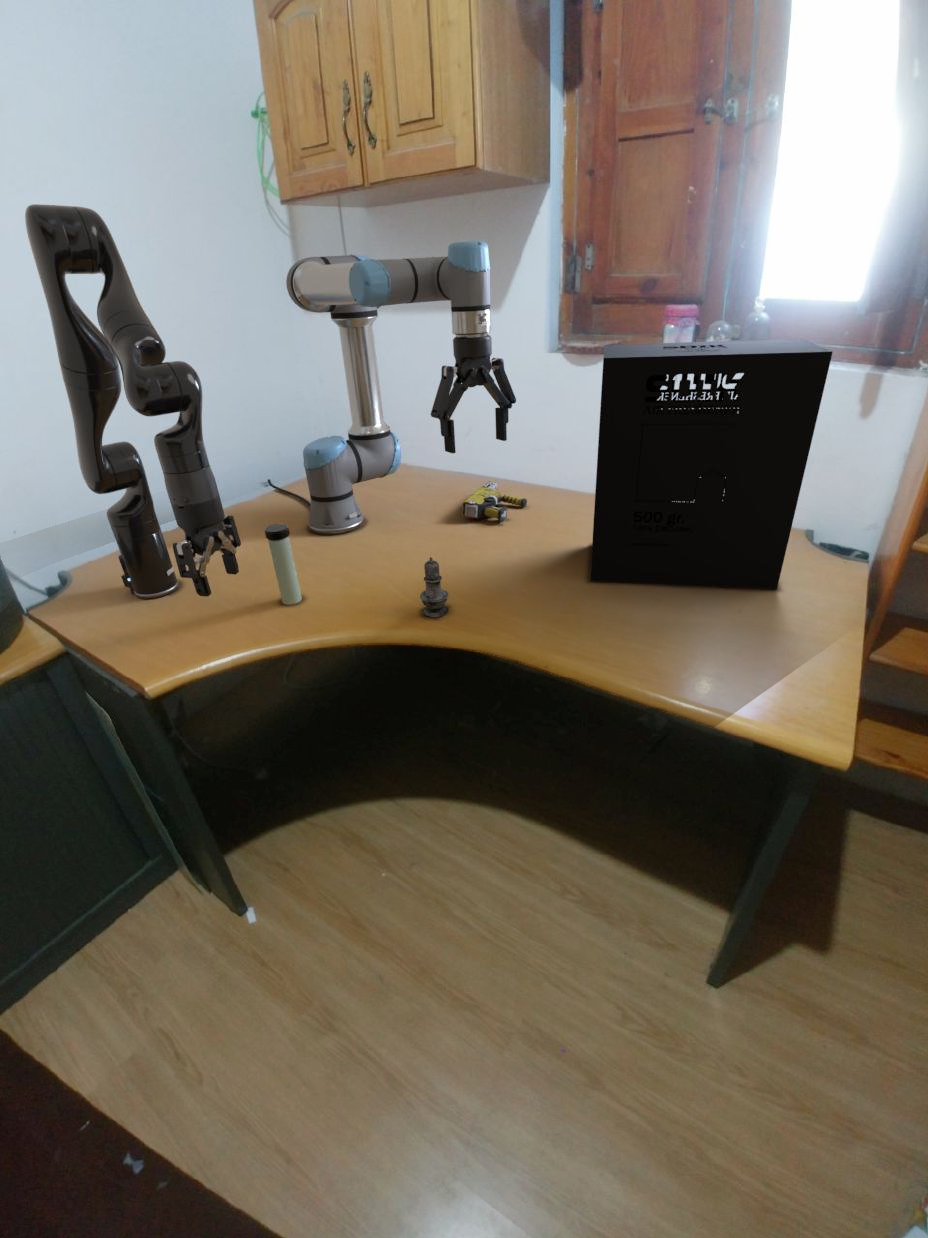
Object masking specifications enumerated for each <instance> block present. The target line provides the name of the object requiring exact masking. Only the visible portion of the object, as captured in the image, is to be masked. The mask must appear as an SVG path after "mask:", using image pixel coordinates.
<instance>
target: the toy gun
mask: <svg viewBox="0 0 928 1238" xmlns="http://www.w3.org/2000/svg"><path fill="white" fill-rule="evenodd" d="M498 486H499V483H498V482H497V481H493V482H492V481H491V480H489V481H488V482H487V483H485V484H483V485H482V486H481V487H479V488H478V489H477V490H476V491H474V493H472V495H470V496H469V497H468V498H467V499H466V500H465V501H464V502H462V506H461V508H462V509H461V514H462V516H463V517H466V518H467V519H471V520H472V519H474V518H475V519H482V518H486V517H489V518H494V519H498V521H497V522H498V523H499V522H502V521H504V520H506V519H507V516H508V506H503V507H501V505H499V504H500V503H505V504H506V503H507V504H511V505H515V506H519V507H521V508H525V507H526V506H527V503H528V499H526V497H525V498H524V497H520V496H514V495H511V494H510V495H509V494H506V493H505V494H503V495H502V496H501V493H500V492H499V491H498V489H499V487H498Z"/></svg>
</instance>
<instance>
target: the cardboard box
mask: <svg viewBox="0 0 928 1238" xmlns="http://www.w3.org/2000/svg"><path fill="white" fill-rule="evenodd" d="M833 353H834V352H833V350H830V349H827V348H826V347H825V348H824V347H822V346H821V345H818V344H815V343H813V342H810V341H808V340H805V339H802V338H783V339H782V338H781V339H779V338H777V339H776V338H775V339H749V340H747V339H746V340H723V341H722V340H720V341H719V340H718V341H689V342H687V341H685V342H683V341H682V342H657V343H654V342H653V343H627V344H625V343H624V344H623V343H621V344H604V345H603V359H602V362H603V363H602V375H601V389H600V390H601V392H600V409H599V424H598V425H599V426H598V427H599V428H598V442H597V457H596V458H597V459H596V460H597V461H596V475H595V493H594V496H595V497H594V508H593V509H594V510H593V525H592V527H593V528H592V541H591V557H590V558H591V560H590V575H589V576H590V577H589V580H590V582H603V583H622V584H623V583H625V584H626V583H628V584H645V585H647V584H648V585H669V586H670V585H671V586H693V587H712V588H714V587H715V588H734V589H735V588H737V589H755V590H757V589H758V590H759V589H760V590H778V586H779V582H780V577H781V574H782V570H783V565H784V561H785V556H786V553H787V548H788V543H789V539H790V536H791V531H792V526H793V522H794V519H795V513H796V510H797V505H798V501H799V497H800V493H801V489H802V484H803V480H804V476H805V471H806V467H807V464H808V463H807V462H808V458H809V455H810V450H811V446H812V442H813V437H814V434H815V430H816V425H817V421H818V417H819V411H820V407H821V404H822V400H823V399H822V398H823V394H824V390H825V386H826V381H827V378H828V374H829V369H830V366H831V360H832V356H833ZM738 374H742V376H741V377H740V378H735V376H736V375H738ZM678 375H681V379H680V380H679V384H678V388H675V385H676V379H675V377H676V376H678ZM689 375H693V380H692V381H691V379H688V376H689ZM702 375H704V379H702ZM719 378H720V382H719ZM724 378H725V382H724ZM723 382H724V385H730V384H731V385H734V388H725V387H724V386H723ZM691 383H692V385H695V388H691ZM705 385H710V388H704V386H705ZM662 387H666V389H662Z"/></svg>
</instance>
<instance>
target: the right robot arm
mask: <svg viewBox="0 0 928 1238" xmlns="http://www.w3.org/2000/svg"><path fill="white" fill-rule="evenodd" d="M490 263H491V262H490V252H489V245H488V244H487V242H485V241H484V240H466V241H455V242H451V243H450V244H449V245H448V247H447V256H431V257H430V256H427V257H413V258H411V257H410V258H391V259H390V258H386V259H374V258H370V257H369V256H367V255H358V254H349V255H328V256H326V255H325V256H310V257H305V258H302V259H300V260H298V261H296V262H295V263H293V265H291V267H290V268H289V269H288V272H287V275H286V281H285V282H286V283H285V284H286V285H285V286H286V290H287V293H288V296H289V297H290V299H291V300H292V303H294V304H295V305H296V306H298V307H299V308H300V309H302V310H304V311H306V312H310V313H318V314H319V313H320V314H321V313H330V320H331V321H332V322H333V323H334V324H335V325H336V326H337V327H338V332H339V333H338V334H339V339H340V347H341V355H342V361H343V369H344V375H345V382H346V383H345V384H346V389H347V396H348V404H349V410H350V418H351V425H350V426H349V428H348V430H347V436H348V439H345V437H343V436H341V435H332V436H324V437H321V438H318V439H315V440H312V441H311V442H309V443H308V444H306V445H305V446H304V448H303V450H302V457H303V459H302V460H303V467H304V471H305V476H306V481H307V486H308V492H309V498H310V501H308V500H307V499H306V498H304V497H303V496H300V495H298V494H297V493H294V492H291V491H288V490H286V489H283V488H280V487H279V486H276V485H274V483H272V481H271V479H270V478H269V479H267V483H268V484H269V486H270V487H272V488H273V489H275V490H278V491H280V492H282V493H285V494H288V495H290V496H292V497H295V498H297V499H299V500H300V501H303V502H304V503H305V504H307V505H308V506H309V513H308V521H307V522H308V523H307V524H308V528H309V529H308V530H310V531H311V532H312V533H314V534H317V535H323V536H324V535H325V536H327V535H329V536H331V535H339V534H340V535H341V534H345V533H350V532H353V531H355V530H357V529H359V528H361V527H362V526H363V525H364V523H365V519H364V514H363V512H362V510H361V508H360V505H359V504H358V501H357V500H356V498H355V495H354V489H353V485H354V484H355V485H356V484H359V483H363V482H368V481H371V480H375V479H381V478H385V477H387V476H390V475H392V474H394V473H396V472H397V470H398V469H399V467H400V465H401V462H402V446H401V443H400V441H399V437H398V436H397V435H396V434H395V432H394V431H391V426H390V425H388V423H386V422H385V420H384V419H385V418H384V410H383V402H382V393H381V385H380V377H379V368H378V367H379V366H378V358H377V349H376V341H375V331H374V324H375V322H376V320H377V319H378V317H379V314H378V309H379V308H381V307H385V306H394V305H403V304H405V305H406V304H417V303H419V304H420V303H427V302H428V303H429V302H444V301H448V302H449V301H450V311H451V313H450V314H451V315H450V316H451V334H453V335H454V337H453V339H452V350H453V358H454V359H455V363H454V366H452V365H442V366H441V373H440V374H441V375H440V376H441V377H440V381H439V384H438V388H437V390H436V395H435V398H434V401H433V404H432V407H431V411H430V416H431V418H435V419H438V421H439V426H440V435H441V437H443V441H444V442H443V443H444V452H446V453H450V454H456V433H455V420H454V419H451V418H452V416H453V414H454V413H455V410H456V409H457V406H458V404H459V402H460V401H461V399H462V397H463V396H464V393H465V392H466V391H468V389H469V388H474V387H477V386H478V387H482V386H483V387H484V389H485V390H486V391H487V392H488V394H489V396H491V398H492V399H493V401H494V402H495V403H496V405H497V406H498V407H495V408H494V410H495V411H494V413H495V414H494V415H495V439H496V440H499V441H502V442H507V441H508V438H507V435H508V433H507V424H509V410H510V409H512V407H513V404H516V403H517V398H516V394H515V393H514V390H513V388H512V385H511V383H510V380H509V378H508V375H507V373H506V370H505V363H504V362H505V361H504V359H503V358H499V357H493V358H491V356H492V354H493V346H492V344H493V343H492V340H493V339H492V336H491V335H489V333H491V332H492V315H491V314H492V312H491V311H492V309H491V264H490ZM491 370H492V374H493V376H494V378H493V376H492V375H491ZM455 377H456V378H455ZM454 378H455V380H454ZM495 381H496V383H497V384H496V383H495Z"/></svg>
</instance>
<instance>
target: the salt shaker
mask: <svg viewBox="0 0 928 1238" xmlns="http://www.w3.org/2000/svg"><path fill="white" fill-rule="evenodd" d="M423 567H424V577H423V581H424V582H425V590H424V591H422V592H421V593H420V594H419V599H420V600H421V603H422V605H423V606H424V608H422V614H423V615H424V616H426V617H429V618H438V617H442V616H444V615H446V614H448V612H449V607H448V606H447V605H446V603H447V602H448V598H449V595H450V594H449V592H448V591H447V590H445V589H443V588H442V582H441V581H442V579H443V577H442V575H441V574H440V564H439V562H438V561H437V560H434V559H433V557H432V556H430V557H429V559H428V561H426V562H425V563H424V566H423Z"/></svg>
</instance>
